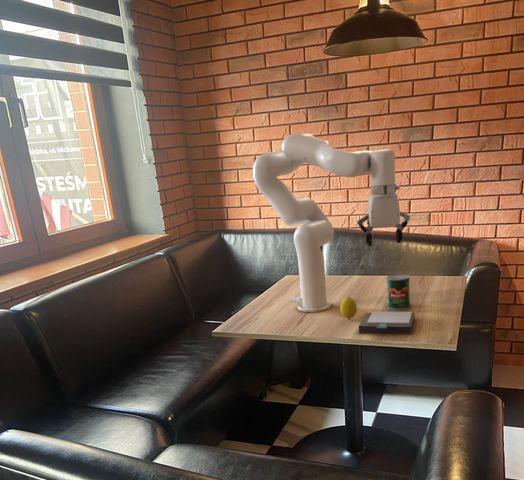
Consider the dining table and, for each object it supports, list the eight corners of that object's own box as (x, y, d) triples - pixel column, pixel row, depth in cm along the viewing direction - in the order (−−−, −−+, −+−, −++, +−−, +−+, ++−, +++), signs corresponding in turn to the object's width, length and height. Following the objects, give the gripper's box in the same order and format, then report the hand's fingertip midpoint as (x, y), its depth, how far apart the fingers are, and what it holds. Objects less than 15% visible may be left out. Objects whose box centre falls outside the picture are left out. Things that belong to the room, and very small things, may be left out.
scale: (357, 335, 169) (357, 326, 168) (366, 319, 183) (366, 310, 182) (409, 336, 163) (409, 327, 162) (414, 320, 177) (414, 311, 176)
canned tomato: (402, 302, 197) (402, 273, 193) (414, 307, 190) (413, 277, 186) (383, 306, 196) (382, 276, 192) (393, 311, 188) (393, 280, 185)
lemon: (356, 321, 182) (355, 299, 179) (340, 322, 183) (339, 299, 180) (357, 316, 187) (356, 294, 184) (341, 317, 188) (340, 295, 185)
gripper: (406, 187, 175) (406, 239, 181) (353, 192, 175) (355, 245, 181) (413, 188, 168) (413, 243, 174) (358, 194, 168) (360, 248, 174)
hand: (384, 244), depth 177 cm, fingers open, 9 cm apart
